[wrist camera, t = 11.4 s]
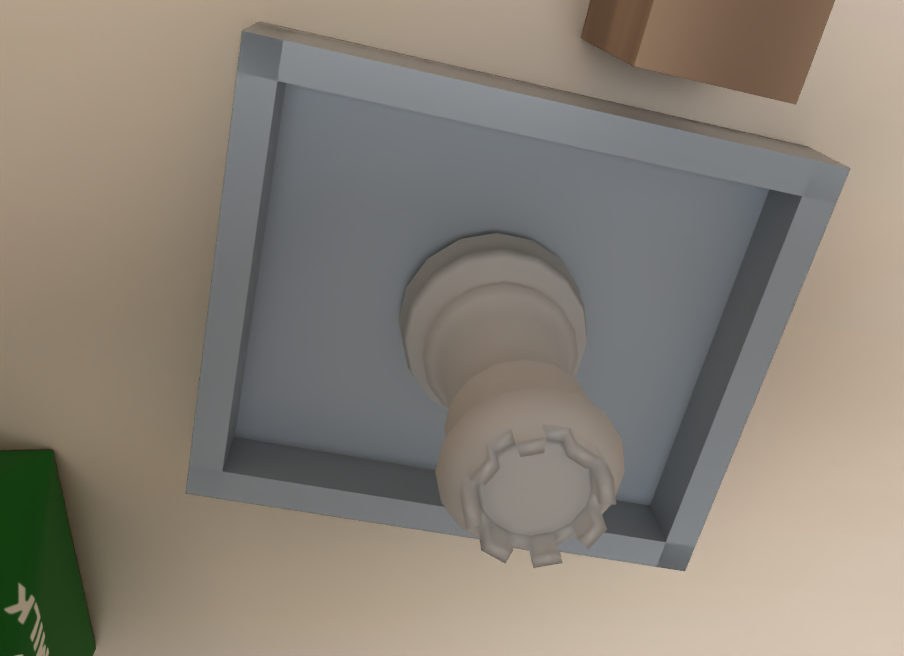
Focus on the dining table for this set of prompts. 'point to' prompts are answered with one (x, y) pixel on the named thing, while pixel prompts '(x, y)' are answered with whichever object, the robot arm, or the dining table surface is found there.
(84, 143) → the dining table surface
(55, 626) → the milk carton
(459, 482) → the rook chess piece
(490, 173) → the tray
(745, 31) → the walnut posts
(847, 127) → the dining table surface
